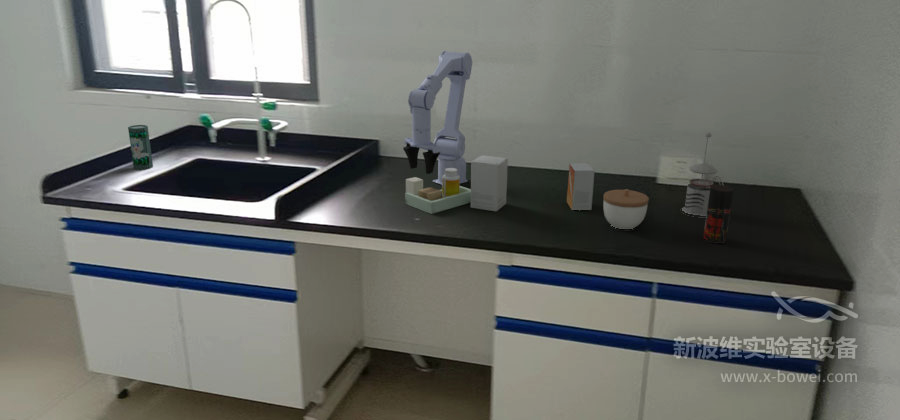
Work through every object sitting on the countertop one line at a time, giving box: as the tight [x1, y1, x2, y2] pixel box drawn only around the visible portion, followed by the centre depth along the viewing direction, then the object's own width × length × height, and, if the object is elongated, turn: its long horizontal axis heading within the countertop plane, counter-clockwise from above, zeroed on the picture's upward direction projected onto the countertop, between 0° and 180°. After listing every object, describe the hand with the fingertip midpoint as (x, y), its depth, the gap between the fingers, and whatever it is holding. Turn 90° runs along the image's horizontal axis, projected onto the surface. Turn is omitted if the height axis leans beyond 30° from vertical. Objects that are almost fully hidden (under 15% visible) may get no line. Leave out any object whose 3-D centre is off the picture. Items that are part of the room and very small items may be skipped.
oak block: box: [418, 186, 442, 201], centre depth 215 cm, size 5×5×5 cm
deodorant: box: [702, 184, 735, 242], centre depth 190 cm, size 6×6×15 cm
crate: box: [404, 185, 471, 215], centre depth 218 cm, size 18×12×4 cm
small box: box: [566, 162, 596, 212], centre depth 215 cm, size 8×6×13 cm
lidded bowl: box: [602, 188, 650, 230], centre depth 200 cm, size 13×13×11 cm
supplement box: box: [470, 154, 509, 212], centre depth 214 cm, size 9×9×15 cm
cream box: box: [405, 176, 424, 196], centre depth 226 cm, size 4×4×5 cm
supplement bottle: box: [441, 168, 461, 198], centre depth 219 cm, size 6×6×10 cm
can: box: [127, 124, 154, 171], centre depth 249 cm, size 6×6×15 cm
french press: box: [681, 132, 724, 216], centre depth 209 cm, size 10×12×25 cm
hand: (421, 170), depth 219 cm, fingers open, 7 cm apart
